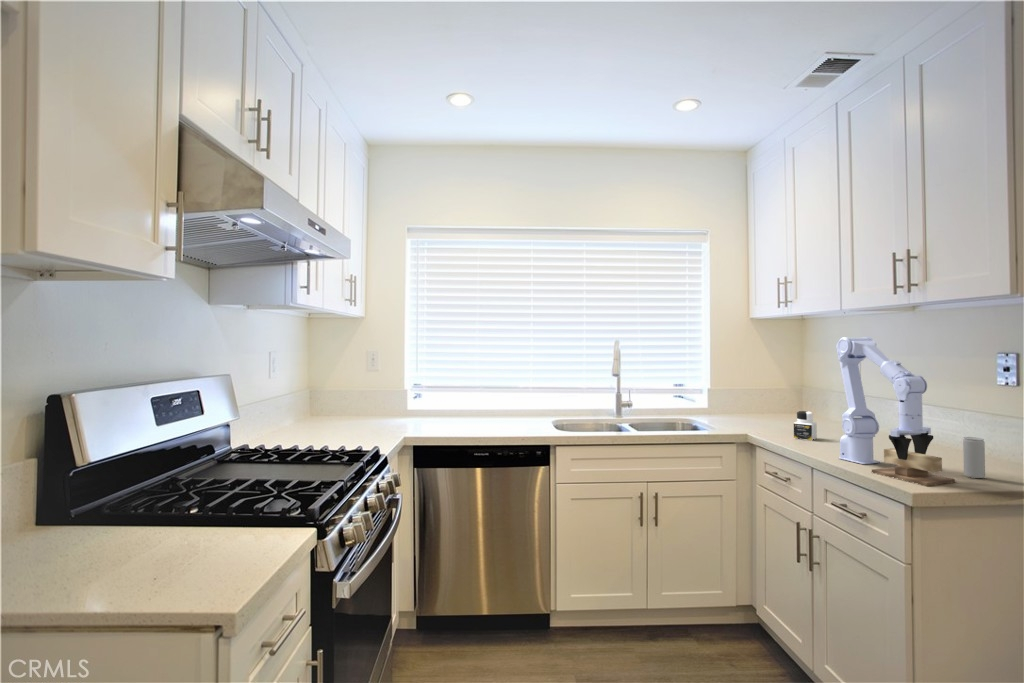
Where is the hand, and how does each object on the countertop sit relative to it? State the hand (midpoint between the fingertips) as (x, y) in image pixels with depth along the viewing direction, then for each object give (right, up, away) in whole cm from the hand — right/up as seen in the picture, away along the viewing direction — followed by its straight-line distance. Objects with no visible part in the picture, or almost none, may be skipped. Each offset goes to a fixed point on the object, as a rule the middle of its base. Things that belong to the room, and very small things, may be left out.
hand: (911, 458), depth 150 cm
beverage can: (+19, -6, -1) cm, 20 cm away
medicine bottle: (+5, -7, +62) cm, 62 cm away
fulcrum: (0, -6, 0) cm, 6 cm away
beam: (0, -2, 0) cm, 2 cm away
